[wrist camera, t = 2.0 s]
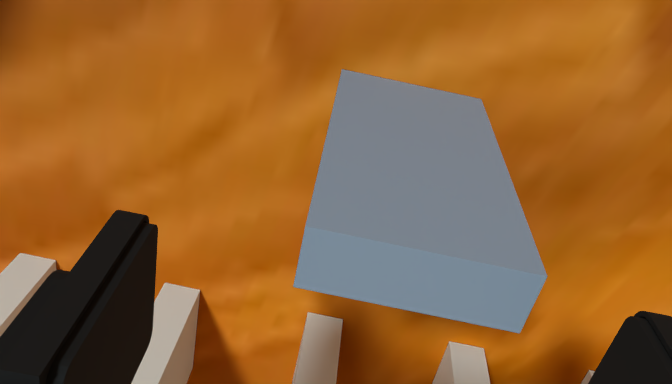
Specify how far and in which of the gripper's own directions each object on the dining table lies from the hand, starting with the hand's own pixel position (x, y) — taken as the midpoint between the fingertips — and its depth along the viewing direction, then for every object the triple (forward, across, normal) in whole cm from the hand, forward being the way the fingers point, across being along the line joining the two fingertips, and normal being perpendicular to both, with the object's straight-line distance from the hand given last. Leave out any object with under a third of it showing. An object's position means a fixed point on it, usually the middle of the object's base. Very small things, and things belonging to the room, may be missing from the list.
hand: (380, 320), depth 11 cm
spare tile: (+11, -1, -1) cm, 11 cm away
